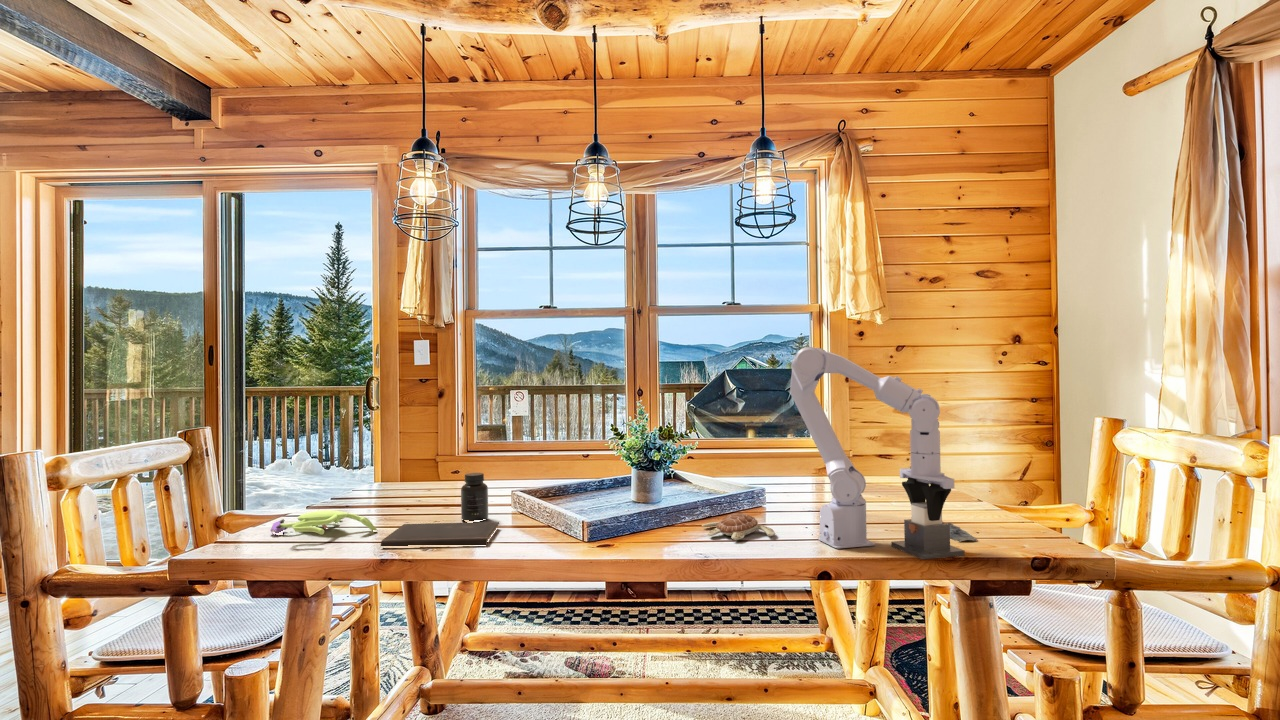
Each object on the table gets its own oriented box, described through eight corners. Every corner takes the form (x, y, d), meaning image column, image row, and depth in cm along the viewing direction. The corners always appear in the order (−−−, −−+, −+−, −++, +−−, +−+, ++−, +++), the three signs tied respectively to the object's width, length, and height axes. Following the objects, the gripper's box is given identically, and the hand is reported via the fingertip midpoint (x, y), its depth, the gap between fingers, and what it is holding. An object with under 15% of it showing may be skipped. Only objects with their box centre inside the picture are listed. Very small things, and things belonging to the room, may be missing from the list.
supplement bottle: (460, 518, 170) (460, 472, 170) (487, 516, 172) (486, 471, 172) (461, 524, 163) (461, 476, 164) (489, 521, 165) (488, 475, 166)
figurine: (302, 553, 140) (302, 527, 140) (259, 533, 158) (259, 510, 158) (384, 536, 154) (383, 512, 154) (335, 519, 172) (335, 498, 172)
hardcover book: (404, 533, 157) (403, 523, 157) (499, 531, 158) (499, 521, 158) (380, 551, 141) (380, 541, 141) (486, 549, 142) (486, 538, 142)
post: (925, 549, 132) (924, 507, 132) (911, 543, 136) (910, 503, 136) (943, 547, 133) (942, 505, 133) (928, 542, 137) (928, 501, 137)
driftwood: (980, 545, 140) (980, 535, 140) (947, 544, 141) (947, 535, 141) (947, 524, 161) (947, 515, 161) (918, 523, 162) (918, 515, 162)
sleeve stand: (922, 559, 129) (921, 529, 129) (891, 546, 138) (890, 518, 138) (964, 555, 131) (964, 525, 131) (931, 542, 141) (930, 515, 141)
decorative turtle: (787, 532, 153) (787, 511, 153) (759, 548, 139) (758, 525, 139) (719, 523, 163) (719, 503, 163) (686, 537, 149) (686, 516, 149)
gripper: (966, 456, 129) (968, 524, 129) (918, 447, 143) (920, 509, 143) (936, 457, 127) (937, 526, 127) (891, 449, 141) (892, 511, 141)
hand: (926, 517), depth 135 cm, fingers closed on post, 4 cm apart
